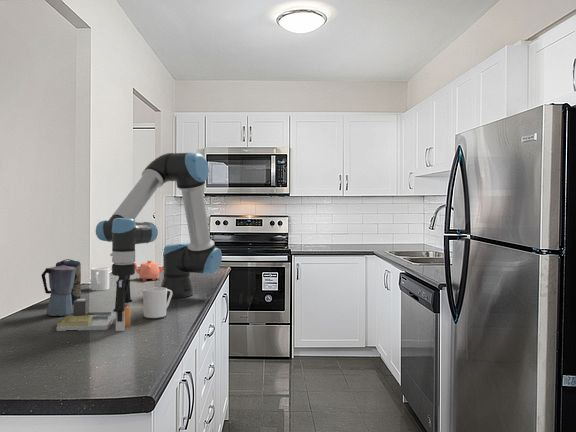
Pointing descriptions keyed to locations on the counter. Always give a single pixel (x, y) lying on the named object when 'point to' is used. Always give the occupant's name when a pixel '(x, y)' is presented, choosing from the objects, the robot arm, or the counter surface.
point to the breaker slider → (80, 307)
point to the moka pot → (59, 289)
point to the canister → (77, 280)
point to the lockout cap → (127, 315)
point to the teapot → (148, 270)
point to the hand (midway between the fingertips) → (122, 325)
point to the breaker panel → (86, 321)
